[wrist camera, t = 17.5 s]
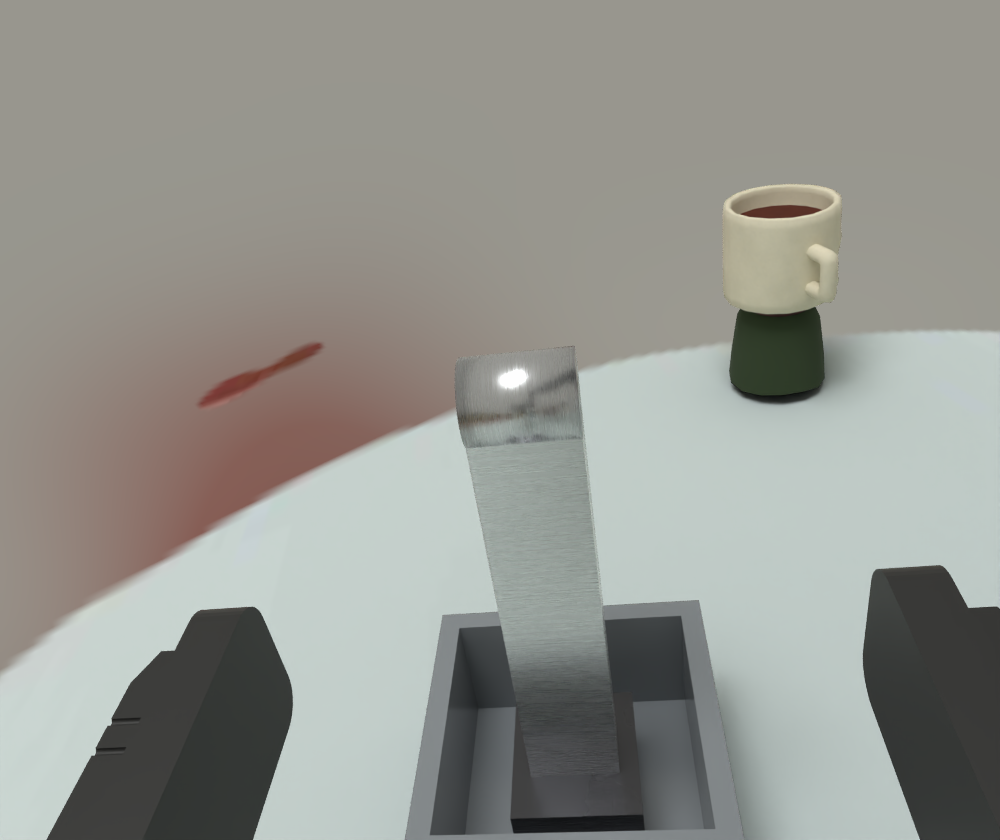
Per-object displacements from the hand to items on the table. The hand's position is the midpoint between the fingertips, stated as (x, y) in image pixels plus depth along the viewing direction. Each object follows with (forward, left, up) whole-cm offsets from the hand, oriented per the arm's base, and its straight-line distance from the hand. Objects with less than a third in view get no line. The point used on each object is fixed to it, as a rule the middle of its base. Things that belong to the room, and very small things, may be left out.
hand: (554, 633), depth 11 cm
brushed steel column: (-11, -6, -22) cm, 25 cm away
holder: (-11, -6, -23) cm, 26 cm away
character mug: (-46, -5, -23) cm, 51 cm away
